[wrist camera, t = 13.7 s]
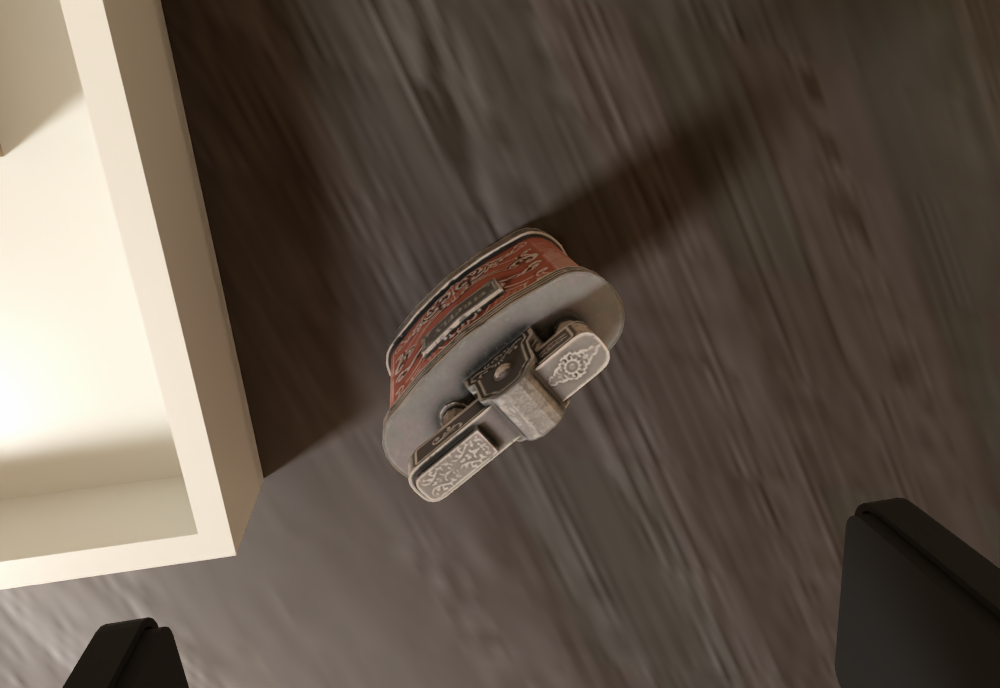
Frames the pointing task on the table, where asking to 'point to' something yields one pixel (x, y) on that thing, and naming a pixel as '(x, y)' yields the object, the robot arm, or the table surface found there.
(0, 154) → the cube
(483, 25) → the table surface
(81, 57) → the tote
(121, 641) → the robot arm
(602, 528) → the table surface
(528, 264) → the lighter
